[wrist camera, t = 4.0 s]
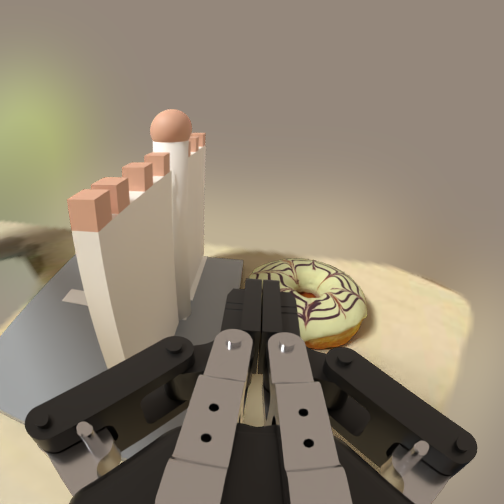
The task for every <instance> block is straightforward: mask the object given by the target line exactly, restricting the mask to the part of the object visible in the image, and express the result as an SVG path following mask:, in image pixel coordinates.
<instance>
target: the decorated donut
mask: <svg viewBox="0 0 504 504" xmlns="http://www.w3.org/2000/svg"><path fill="white" fill-rule="evenodd" d="M249 279H262V287H263V279H264V280H279V281H280V292H291V294H292V295H293V296H294V297H295V299H296V304H297V311H298V319H299V328H300V336H301V338H302V339H303V341H304V342H305V345H306V346H307V347H308V348H313V349H324V348H328V347H339V346H340V345H344V344H346V343H347V342H348V341H349V340H350V339H351V337H352V336H354V335H355V334H356V332H357V331H358V329H359V327H360V325H361V322H362V320H363V319H364V318H366V317H367V307H366V299H365V297H364V294H363V292H362V290H361V288H360V287H359V286H358V285H357V284H356V283H355V281H354V280H353V279H352V278H351V277H350V276H349V275H347V274H345V273H344V272H343V271H341V270H339V269H337V268H335V267H333V266H331V265H328V264H325V263H322V262H318V261H315V260H309V259H303V258H287V259H282V260H278V261H274V262H270V263H267V264H264V265H262V266H259V267H257V268H256V269H255V270H254V271H253V272H252V274H251V275H250V276H249ZM261 298H262V297H261Z"/></svg>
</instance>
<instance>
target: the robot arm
mask: <svg viewBox="0 0 504 504" xmlns="http://www.w3.org/2000/svg"><path fill="white" fill-rule="evenodd" d="M261 297H262V298H261ZM258 350H259V354H258ZM257 360H258V374H263V385H262V398H263V412H264V426H263V427H253V426H250V425H246V424H243V420H244V414H245V408H246V402H247V396H248V390H249V385H250V383H251V376H252V373H253V374H256V370H257ZM350 396H351V397H350ZM355 400H356V401H355ZM360 404H361V405H360ZM187 408H188V409H187ZM365 408H366V409H365ZM186 409H187V412H186V416H185V419H184V422H183V425H182V426H179V427H176V428H174V429H171V430H169V431H167V432H166V433H164V434H162V435H161V436H160V437H158V438H157V439H156V440H154V441H153V442H151V443H150V444H149V445H147V446H146V447H144V448H143V449H141V450H140V451H139V452H137V453H136V454H134V455H133V456H131V457H130V458H128V459H127V460H125V461H124V462H122V463H121V464H119V463H120V461H121V452H122V451H124V450H125V449H127V448H129V447H130V446H132V445H133V444H135V443H136V442H138V441H140V440H141V439H143V438H144V437H146V436H147V435H149V434H150V433H152V432H153V431H155V430H156V429H158V428H160V427H161V426H162V425H164V424H165V423H167V422H168V421H170V420H171V419H173V418H174V417H176V416H177V415H179V414H180V413H182V412H183V411H184V410H186ZM331 427H333V428H334V429H335V430H336V431H337V432H338V433H339V434H341V435H342V436H343V437H344V438H345V439H346V440H347V441H349V442H350V443H351V444H352V445H353V446H354V447H356V448H357V449H358V450H359V451H360V452H362V453H363V454H364V455H365V456H366V457H368V458H369V459H370V460H371V461H372V462H374V463H375V464H376V465H377V466H379V467H380V474H379V473H378V472H377V471H376V470H375V469H373V468H372V467H371V466H370V465H369V464H368V463H367V462H366V461H364V460H363V459H362V458H361V457H360V456H359V455H358V454H357V453H356V452H355V451H353V450H352V449H351V448H350V447H349V446H348V445H347V444H346V443H345V442H343V441H342V440H340V439H339V438H337V437H335V436H333V433H332V429H331ZM25 428H26V431H27V432H28V434H29V435H30V436H31V437H32V438H33V440H34V441H35V442H36V443H37V445H38V447H39V448H40V449H41V450H42V451H43V452H44V453H45V454H46V456H47V457H48V458H49V459H50V460H51V462H52V464H53V465H54V467H55V469H56V470H57V472H58V474H59V475H60V477H61V479H62V480H63V482H64V483H65V485H66V486H67V488H68V490H69V491H70V493H71V494H72V496H73V498H72V499H71V501H70V503H69V504H432V502H433V501H434V500H435V498H436V497H437V496H438V494H439V493H440V492H441V490H442V489H443V487H444V486H445V485H446V483H447V482H448V480H449V479H450V478H451V477H453V476H454V475H455V474H456V473H458V472H459V471H460V470H461V469H462V468H463V467H465V465H467V464H468V463H469V462H470V461H471V460H472V459H473V458H474V457H475V455H476V453H477V444H476V441H475V439H474V437H473V436H472V435H471V434H470V433H469V432H467V431H466V430H464V429H463V428H461V427H460V426H459V425H457V424H456V423H454V422H453V421H451V420H450V419H449V418H447V417H446V416H444V415H443V414H441V413H440V412H439V411H437V410H436V409H434V408H433V407H432V406H430V405H429V404H427V403H426V402H425V401H423V400H422V399H420V398H419V397H418V396H416V395H415V394H413V393H412V392H411V391H409V390H408V389H406V388H405V387H404V386H402V385H401V384H399V383H398V382H397V381H395V380H394V379H393V378H391V377H390V376H388V375H387V374H386V373H384V372H383V371H381V370H380V369H379V368H377V367H376V366H375V365H373V364H372V363H370V362H369V361H368V360H366V359H365V358H364V357H362V356H361V355H360V354H358V353H357V352H355V351H354V350H352V349H349V348H345V347H337V348H333V349H331V350H330V351H329V352H328V353H327V354H324V353H320V352H317V351H314V350H312V349H310V348H308V347H307V346H306V345H305V342H304V341H303V339H302V338H301V336H300V328H299V319H298V311H297V304H296V299H295V297H294V296H293V295H292V294H291V292H280V281H279V280H264V279H263V287H262V279H249V278H246V282H245V289H235V288H233V289H232V290H231V291H230V292H229V293H228V295H227V299H226V304H225V310H224V315H223V320H222V326H221V331H220V333H219V334H217V336H216V337H215V340H213V341H212V342H209V343H207V344H202V345H194V346H193V344H192V342H191V341H190V340H188V339H187V338H184V337H181V336H170V337H166V338H164V339H162V340H160V341H159V342H157V343H155V344H153V345H151V346H150V347H148V348H146V349H144V350H142V351H141V352H139V353H137V354H135V355H133V356H131V357H130V358H128V359H126V360H124V361H122V362H120V363H119V364H117V365H115V366H113V367H111V368H109V369H107V370H106V371H104V372H102V373H100V374H98V375H96V376H94V377H92V378H90V379H89V380H87V381H85V382H83V383H81V384H79V385H77V386H75V387H73V388H71V389H70V390H68V391H66V392H64V393H62V394H60V395H58V396H56V397H54V398H52V399H50V400H48V401H46V402H44V403H42V404H40V405H38V406H36V407H35V408H33V409H32V410H30V412H29V413H28V414H27V416H26V419H25Z"/></svg>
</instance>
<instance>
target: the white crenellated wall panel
mask: <svg viewBox="0 0 504 504" xmlns="http://www.w3.org/2000/svg"><path fill="white" fill-rule="evenodd" d="M67 203H68V210H69V217H70V224H71V230H72V236H73V241H74V247H75V252H76V257H77V262H78V267H79V271H80V276H81V280H82V284H83V288H84V292H85V296H86V300H87V304H88V308H89V312H90V315H91V319H92V322H93V326H94V329H95V332H96V335H97V339H98V342H99V345H100V348H101V351H102V354H103V357H104V360H105V363H106V366H107V368H108V369H109V368H111V367H113V366H115V365H117V364H119V363H120V362H122V361H124V360H126V359H128V358H130V357H131V356H133V355H135V354H137V353H139V352H141V351H142V350H144V349H146V348H148V347H150V346H151V345H153V344H155V343H157V342H159V341H160V340H162V339H164V338H166V337H170V336H174V335H175V332H176V329H177V326H178V323H179V318H178V307H177V294H176V280H175V264H174V245H173V220H172V170H170V153H169V152H151V153H149V154H147V155H145V156H144V163H143V162H141V163H138V162H137V163H134V162H132V163H130V164H128V165H126V166H124V167H122V177H104V178H102V179H101V180H99V181H97V182H95V183H93V184H92V185H91V189H83V190H82V191H80V192H78V193H77V194H75V195H73V196H72V197H70V198H68V199H67Z"/></svg>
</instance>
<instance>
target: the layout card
mask: <svg viewBox="0 0 504 504" xmlns="http://www.w3.org/2000/svg"><path fill="white" fill-rule="evenodd" d="M242 269H243V260H235V259H223V258H211V257H206V256H203V258H202V260H201V263H200V265H199V268H198V271H197V274H196V276H195V279H194V282H193V284H192V287H191V290H190V300H191V314H190V316H189V317H186V318H184V319H182V320H179V323H178V326H177V329H176V332H175V335H174V336H181V337H184V338H187V339H188V340H190V341H191V342H192V344H193V346H194V345H202V344H207V343H209V342H212V341H213V340H215V337H216V336H217V334H219V333H220V331H221V326H222V320H223V315H224V310H225V304H226V299H227V295H228V293H229V292H230V291H231V290H232V289H233V288H235V289H240V284H241V276H242ZM107 369H108V368H107V366H106V363H105V360H104V357H103V354H102V351H101V348H100V345H99V342H98V339H97V335H96V332H95V329H94V326H93V322H92V319H91V315H90V312H89V308H88V304H87V300H86V296H85V292H84V288H83V284H82V280H81V276H80V271H79V267H78V262H77V257H76V254H75V255H74V256H73V257H72V258H71V259H70V260H69V261H68V262H67V263H66V264H65V265H64V266H63V267H62V268H61V269H60V270H59V271H58V272H57V273H56V274H55V275H54V276H53V277H52V278H51V280H50V281H49V282H48V283H47V284H46V285H45V286H44V287H43V288H42V289H41V290H40V291H39V292H38V293H37V295H36V296H35V297H34V298H33V299H32V300H31V301H30V302H29V303H28V305H27V306H26V307H25V308H24V309H23V310H22V311H21V312H20V314H19V315H18V316H17V317H16V318H15V319H14V321H13V322H12V323H11V324H10V325H9V327H8V328H7V329H6V330H5V331H4V333H3V334H2V335H1V336H0V412H1V413H2V414H4V415H6V416H8V417H10V418H12V419H14V420H16V421H18V422H20V423H22V424H24V425H25V419H26V416H27V414H28V413H29V412H30V410H32V409H33V408H35V407H36V406H38V405H40V404H42V403H44V402H46V401H48V400H50V399H52V398H54V397H56V396H58V395H60V394H62V393H64V392H66V391H68V390H70V389H71V388H73V387H75V386H77V385H79V384H81V383H83V382H85V381H87V380H89V379H90V378H92V377H94V376H96V375H98V374H100V373H102V372H104V371H106V370H107ZM187 409H188V408H187ZM187 409H186V410H184V411H183V412H182V413H180V414H179V415H177V416H176V417H174V418H173V419H171V420H170V421H168V422H167V423H165V424H164V425H162V426H161V427H160V428H158V429H156V430H155V431H153V432H152V433H150V434H149V435H147V436H146V437H144V438H143V439H141V440H140V441H138V442H136V443H135V444H133V445H132V446H130V447H129V448H127V449H125V450H124V451H122V452H121V460H122V461H125V460H127V459H128V458H130V457H131V456H133V455H134V454H136V453H137V452H139V451H140V450H141V449H143V448H144V447H146V446H147V445H149V444H150V443H151V442H153V441H154V440H156V439H157V438H158V437H160V436H161V435H162V434H164V433H166V432H167V431H169V430H171V429H174V428H176V427H179V426H182V425H183V422H184V419H185V416H186V412H187Z"/></svg>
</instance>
